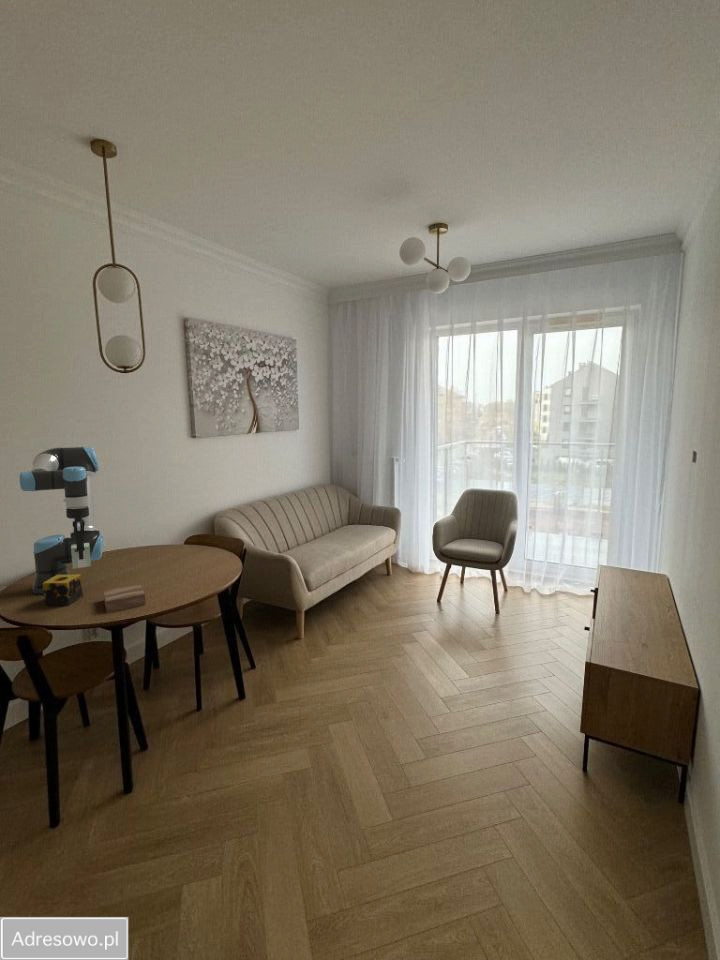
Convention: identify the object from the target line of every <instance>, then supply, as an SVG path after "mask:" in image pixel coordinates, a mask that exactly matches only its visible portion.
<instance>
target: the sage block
mask: <svg viewBox="0 0 720 960" xmlns="http://www.w3.org/2000/svg"><path fill="white" fill-rule="evenodd" d="M84 548H85V559H86V567H85V568H87V567H91V566H92V564H91V563H92V561H90V548H89V543H84ZM76 549H77V545H76V544H73V545H71V552H72V563H71V564H72V570H74V569H80V568H81V569H82V567H80V568H78V562H77V552H75V550H76Z"/></svg>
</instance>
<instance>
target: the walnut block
mask: <svg viewBox="0 0 720 960" xmlns="http://www.w3.org/2000/svg"><path fill="white" fill-rule="evenodd" d="M102 591H103V601H104V606H105V611H106V613H111V611H112V612H115V611H114V610H117V611H121V610H120V609H122V610H126V609H125V608H127V609H131V608H130V607H132V608H137V607H141V606H140V605H142V606H146V593H145V591H144V590H143V587H142V585H141V583H135V584H134V583H133V584H128V585H125V586H118V587H113V588H112V587H111V588H107V589H103V590H102ZM136 606H137V607H136Z"/></svg>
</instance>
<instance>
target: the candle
mask: <svg viewBox="0 0 720 960" xmlns="http://www.w3.org/2000/svg"><path fill="white" fill-rule="evenodd" d="M81 580H82V576H81V574H80V573H78V574H76V573H75V574H74V573H73V574H70V575H56V576H54V577H52V578H51V579H49V580H47V581H45V582H44V583H43V590H44V594H43V595H44V599H43V600H44V605H45V606H49V605H50V606H53V605H54V606H65V605H66V606H71V605H72V604H74V603H75V602H77V601H78V600H79V599H80V597H81V598H82V597H84V592H83V587H82V584H81Z"/></svg>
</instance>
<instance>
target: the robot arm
mask: <svg viewBox="0 0 720 960" xmlns="http://www.w3.org/2000/svg"><path fill="white" fill-rule="evenodd" d="M95 451H96V450H95V449H94V448H93V447H91V446H89V447H87V446H80V447H79V446H77V447H76V446H74V447H53V448H49V449H47V450H44V451H42V452H40V453H38V454H37V455H36V456H35V457H34V458H33V460H32V468H31V470H29V471H28V470H27V471H22V472H20V474H19V487H20V489H21V491H23V492H37V491H50V490H52V491H53V490H64V498H65V499H63V502H65V507H66V509H65V513H66V516H65V517H66V518H67V519H69V520H70V519H73V521H72V528H73V530H72V531H71V532H70V534H69V536H70V537H66V536H65V535H64V534H54V535H48V536H45V537H42V538H40V539H37V540H36V541H35V542H34V543H33V557H34V567H35V577H34V580H33V583H32V592H33V594H37V595H44V590H43V583H44V582H45V581H47V580H49V579H51V578H52V577H54V576H56V575H71V574H70V571H69V570H68V565H67V564H72V552H71V545H73V544H76V545H77V549H76V550H75V552H77V562H78V568H77V569H80V567H81V568H87V567H86V559H85V548H84V543H89V548H90V561H91V562H92V561H97V560H100V559H101V558H102V556H103V547H104V534H103V533H101V532H100V531H101V530H100V529H98V528H97V526H96V514H95V502H94V501H95V500H94V486H93V485H94V484H93V481H94V480H93V478H94V477H95V476H96V474H97V473H96V472H99V471H100V469H99V464H98V458H97V455H96V452H95Z"/></svg>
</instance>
